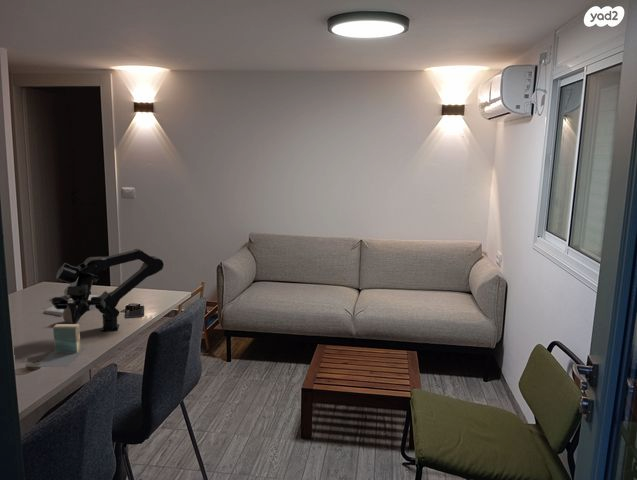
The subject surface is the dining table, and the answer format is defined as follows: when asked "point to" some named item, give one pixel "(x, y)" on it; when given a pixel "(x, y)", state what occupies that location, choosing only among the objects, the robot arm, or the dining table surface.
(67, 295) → the air freshener
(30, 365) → the dining table surface
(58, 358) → the mat
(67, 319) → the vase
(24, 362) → the dining table surface
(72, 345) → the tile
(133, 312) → the phone
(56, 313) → the ramp
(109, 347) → the dining table surface
